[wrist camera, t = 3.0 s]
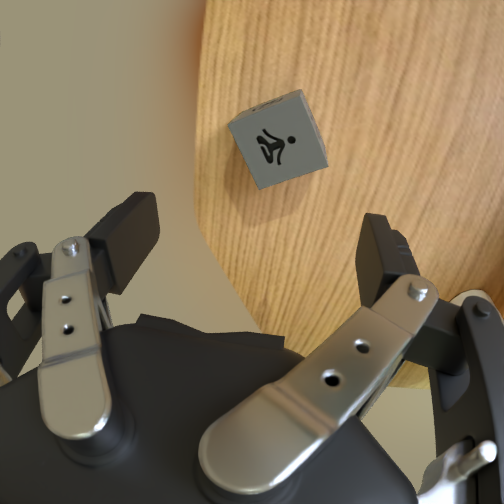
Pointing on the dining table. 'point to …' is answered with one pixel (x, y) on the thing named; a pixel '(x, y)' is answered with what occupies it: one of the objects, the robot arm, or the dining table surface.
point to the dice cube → (279, 140)
